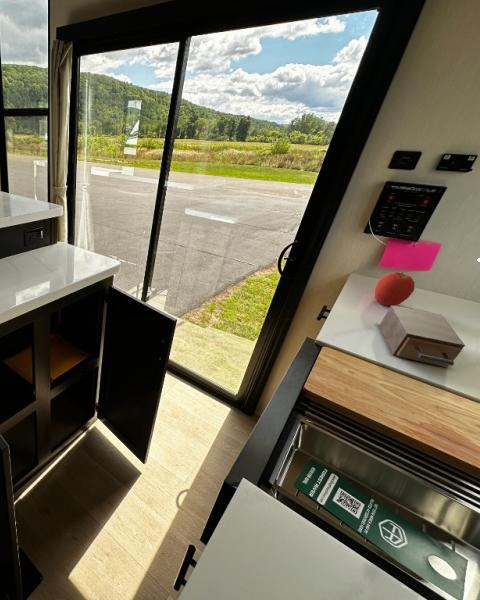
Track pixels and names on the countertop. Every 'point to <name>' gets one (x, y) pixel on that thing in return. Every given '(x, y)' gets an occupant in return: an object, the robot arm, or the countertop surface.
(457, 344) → the cabinet
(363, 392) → the countertop surface
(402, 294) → the apple
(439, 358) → the drawer
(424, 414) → the countertop surface
